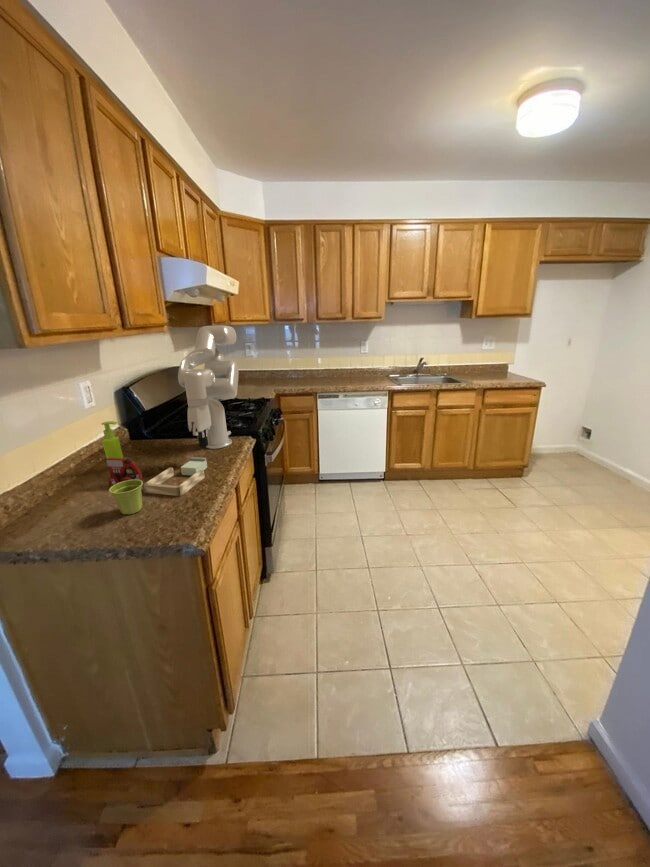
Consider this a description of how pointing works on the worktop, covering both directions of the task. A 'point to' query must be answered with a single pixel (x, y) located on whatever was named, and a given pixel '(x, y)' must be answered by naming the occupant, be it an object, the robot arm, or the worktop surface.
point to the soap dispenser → (111, 442)
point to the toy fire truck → (123, 470)
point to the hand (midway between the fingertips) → (204, 445)
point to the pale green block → (194, 466)
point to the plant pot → (128, 495)
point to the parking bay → (158, 488)
